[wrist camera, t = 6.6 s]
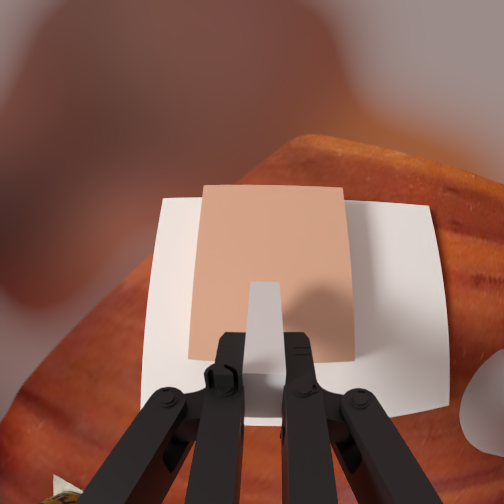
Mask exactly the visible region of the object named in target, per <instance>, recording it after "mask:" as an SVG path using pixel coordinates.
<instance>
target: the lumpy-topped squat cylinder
mask: <svg viewBox="0 0 504 504" xmlns="http://www.w3.org/2000/svg"><path fill="white" fill-rule="evenodd" d="M459 417H460V424H461V427H462V430H463V433H464V435H465V437H466V439H467V440H468V441H469V442H470V443H471V444H472V445H473V446H474V447H476V448H477V449H479V450H480V451H482V452H485V453H489V454H493V455H497V456H501V457H504V349H501V350H499V351H497V352H496V353H495V354H493V355H492V356H491V357H490V358H489V359H488V360H486V361H485V362H484V363H483V364H482V365H481V366H480V368H479V369H478V370H477V371H476V373H475V374H474V376H473V377H472V379H471V380H470V382H469V384H468V386H467V387H466V389H465V392H464V394H463V397H462V400H461V404H460V412H459Z"/></svg>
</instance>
